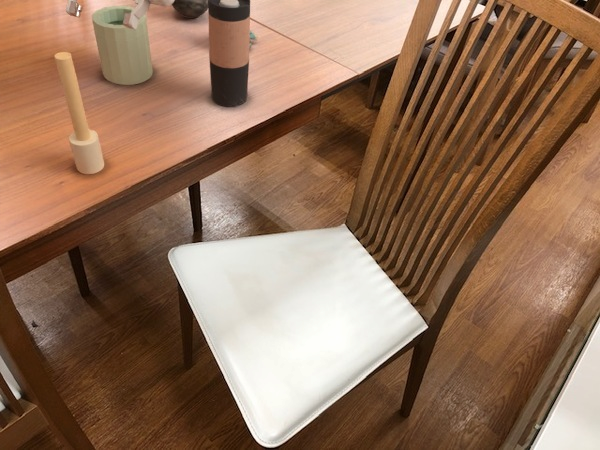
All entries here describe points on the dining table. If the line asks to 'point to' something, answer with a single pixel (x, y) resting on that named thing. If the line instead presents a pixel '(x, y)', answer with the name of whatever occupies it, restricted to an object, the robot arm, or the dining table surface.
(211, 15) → the travel mug
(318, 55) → the dining table surface
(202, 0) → the decorative stone
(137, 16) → the robot arm
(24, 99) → the dining table surface
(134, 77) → the jar
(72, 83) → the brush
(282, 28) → the dining table surface
